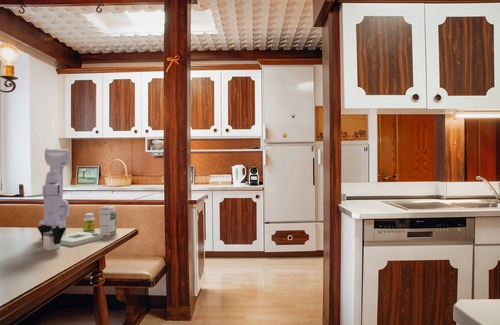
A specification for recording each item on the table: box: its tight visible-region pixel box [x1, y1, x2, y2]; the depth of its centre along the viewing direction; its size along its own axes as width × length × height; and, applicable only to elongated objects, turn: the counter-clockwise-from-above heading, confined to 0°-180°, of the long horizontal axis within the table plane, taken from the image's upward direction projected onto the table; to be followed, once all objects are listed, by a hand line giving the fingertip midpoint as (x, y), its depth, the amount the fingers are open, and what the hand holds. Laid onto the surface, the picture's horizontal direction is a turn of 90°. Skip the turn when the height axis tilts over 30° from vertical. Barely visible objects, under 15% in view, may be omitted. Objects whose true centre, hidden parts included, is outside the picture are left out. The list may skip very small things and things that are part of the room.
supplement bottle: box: [82, 212, 96, 233], centre depth 168 cm, size 5×5×10 cm
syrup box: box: [99, 205, 117, 236], centre depth 164 cm, size 6×6×14 cm
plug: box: [42, 231, 61, 251], centre depth 136 cm, size 4×4×7 cm
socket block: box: [60, 231, 104, 247], centre depth 150 cm, size 16×16×3 cm
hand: (51, 242), depth 136 cm, fingers open, 7 cm apart
